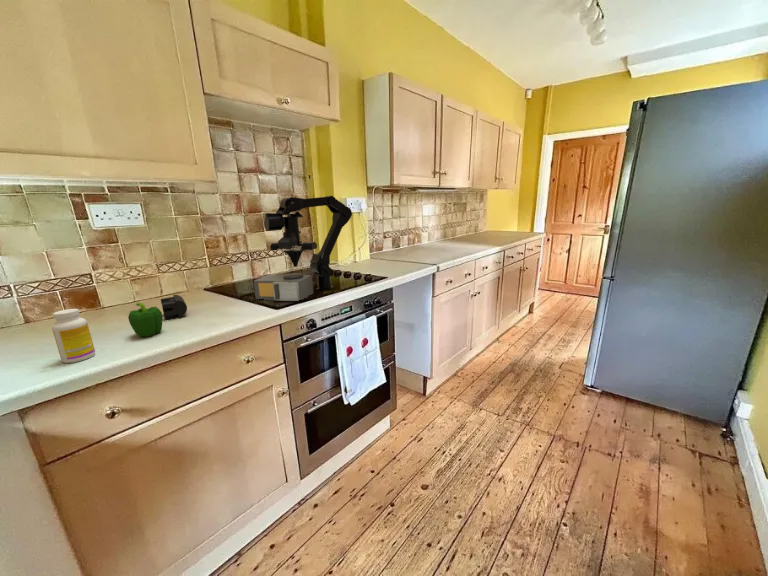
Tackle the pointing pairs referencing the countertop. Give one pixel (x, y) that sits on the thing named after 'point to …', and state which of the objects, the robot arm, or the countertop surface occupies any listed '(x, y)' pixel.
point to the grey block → (266, 283)
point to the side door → (286, 291)
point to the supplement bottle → (72, 336)
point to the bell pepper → (146, 320)
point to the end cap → (173, 307)
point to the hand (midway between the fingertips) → (295, 266)
